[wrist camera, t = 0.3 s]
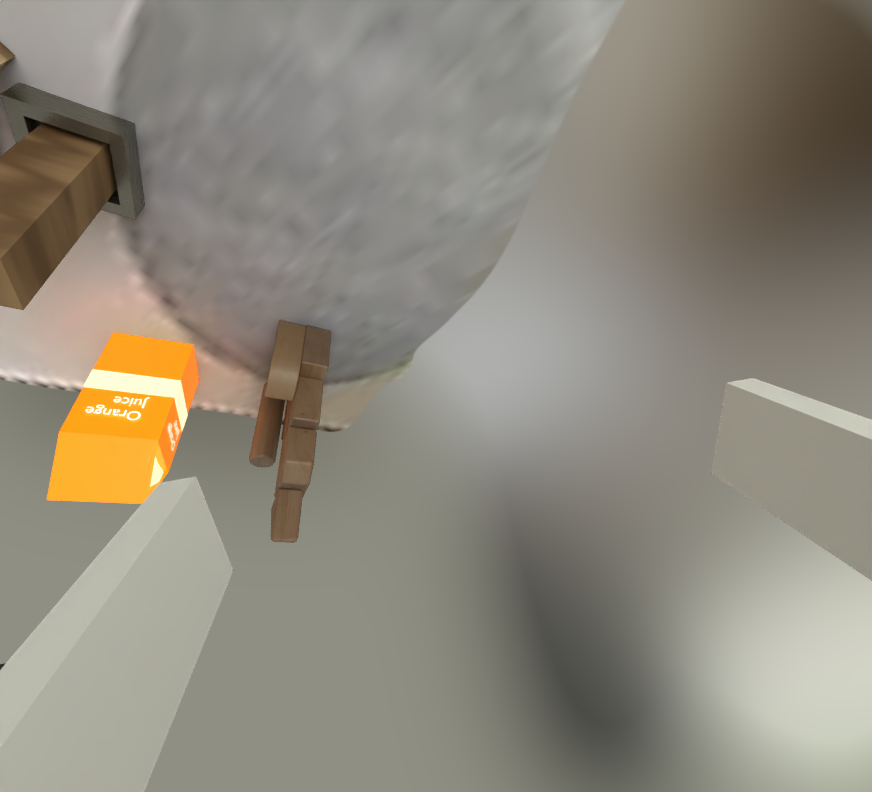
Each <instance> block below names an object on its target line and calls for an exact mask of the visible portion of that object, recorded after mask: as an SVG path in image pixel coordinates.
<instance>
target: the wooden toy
mask: <svg viewBox="0 0 872 792" xmlns="http://www.w3.org/2000/svg"><path fill="white" fill-rule="evenodd" d="M330 343H331V331H329V330H325V329H321V328H317V327H312V326H302V325H298V324H294V323H290V322H286V321H281V320H280V322H279V326H278V331H277V336H276V341H275V345H274V350H273V355H272V360H271V365H270V370H269V375H268V380H267V382H266V383H265V385H264V388H263V393H262V398H261V403H260V408H259V413H258V417H257V422H256V427H255V432H254V437H253V442H252V447H251V452H250V456H249V461H250V463H251V464H252V465H254V466H257V467H269V466H272V465H273V464H274V463H275V460H276V454H277V448H278V441H279V435H280V428H281V423H282V416H283V410H284V404H285V400H287V405H286V412H285V418H284V425H283V432H282V440H283V441H282V449H281V456H280V462H279V469H278V475H277V482H276V488H275V500H274V503H273V506H272V509H271V540H272V541H274V542H292V543H293V542H296V541H297V538H298V533H299V524H300V514H301V506H302V498H303V496H304V494H305V491H306V489H307V488H308V486H309V484H310V479H311V475H312V470H313V465H314V455H315V445H316V435H317V433H316V430H317V427H318V425H319V422H320V414H321V403H322V393H323V381H324V378H325V375H326V372H327V370H328V366H329V354H330Z"/></svg>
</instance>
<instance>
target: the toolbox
mask: <svg viewBox="0 0 872 792" xmlns="http://www.w3.org/2000/svg"><path fill="white" fill-rule="evenodd" d="M14 57H15V55H14V54H13V53H12V52H11V51H9V50H8V49H7V48H6V47H5V46H4V45H3V44H2V43H1V42H0V72H1V70H2V69H3V68H4V67H5V66H6V65H7V64H8V63H9V62H10V61H11V60H12V59H13V58H14Z"/></svg>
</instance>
